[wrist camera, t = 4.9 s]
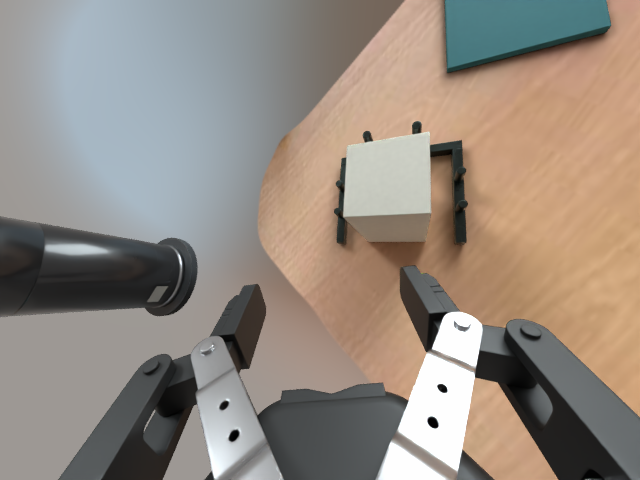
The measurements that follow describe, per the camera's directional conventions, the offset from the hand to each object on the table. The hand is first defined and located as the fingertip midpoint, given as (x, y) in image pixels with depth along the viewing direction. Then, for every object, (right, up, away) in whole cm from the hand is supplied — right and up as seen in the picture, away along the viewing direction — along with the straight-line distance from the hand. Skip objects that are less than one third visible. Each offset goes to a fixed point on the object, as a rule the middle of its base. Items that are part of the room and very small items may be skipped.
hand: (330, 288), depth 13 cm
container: (+7, +5, +10) cm, 14 cm away
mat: (+19, +27, +10) cm, 34 cm away
